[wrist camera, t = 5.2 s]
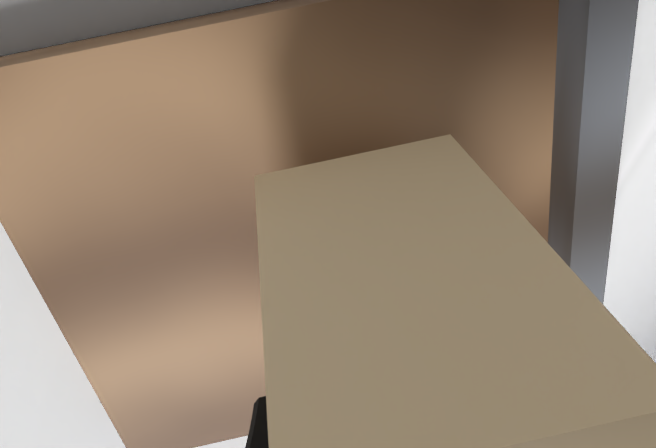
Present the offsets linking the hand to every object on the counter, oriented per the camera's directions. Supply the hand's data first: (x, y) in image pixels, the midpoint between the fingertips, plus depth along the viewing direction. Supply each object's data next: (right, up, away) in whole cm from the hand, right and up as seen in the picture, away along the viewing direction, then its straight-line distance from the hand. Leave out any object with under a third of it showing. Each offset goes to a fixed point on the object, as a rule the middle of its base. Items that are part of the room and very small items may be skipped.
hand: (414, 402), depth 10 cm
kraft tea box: (-1, +2, +3) cm, 4 cm away
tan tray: (-2, +3, +5) cm, 6 cm away
